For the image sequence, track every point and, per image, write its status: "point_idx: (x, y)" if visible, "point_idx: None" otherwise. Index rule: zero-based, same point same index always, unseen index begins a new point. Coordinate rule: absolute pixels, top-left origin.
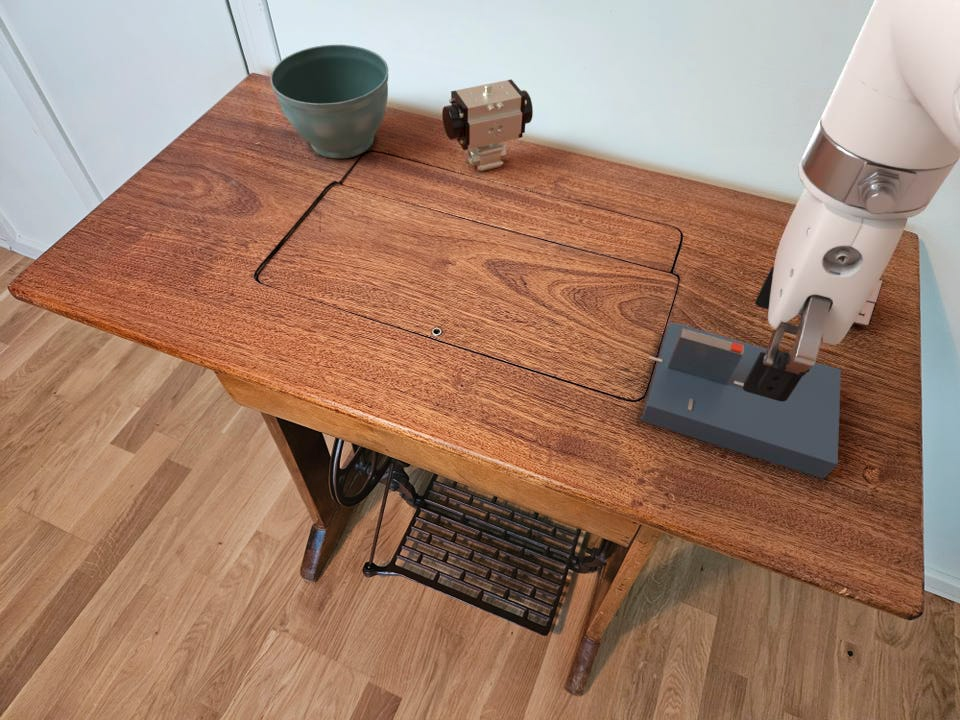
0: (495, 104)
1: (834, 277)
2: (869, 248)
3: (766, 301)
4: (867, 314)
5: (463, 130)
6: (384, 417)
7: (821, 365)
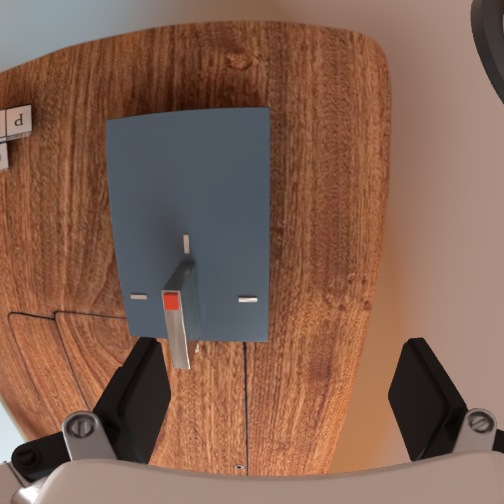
0: None
1: None
2: None
3: (164, 398)
4: (19, 111)
5: None
6: (329, 465)
7: (108, 145)
